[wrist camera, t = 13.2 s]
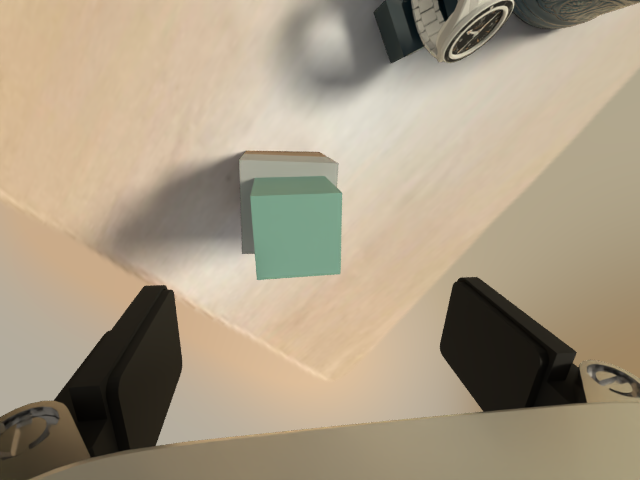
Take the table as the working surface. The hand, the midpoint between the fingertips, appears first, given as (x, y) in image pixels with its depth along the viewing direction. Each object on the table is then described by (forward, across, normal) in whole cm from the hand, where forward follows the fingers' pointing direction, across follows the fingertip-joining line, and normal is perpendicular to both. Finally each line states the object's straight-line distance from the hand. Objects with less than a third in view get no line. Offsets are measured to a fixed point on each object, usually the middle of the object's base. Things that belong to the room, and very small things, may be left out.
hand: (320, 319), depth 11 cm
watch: (+23, -11, -15) cm, 30 cm away
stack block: (+14, 0, 0) cm, 14 cm away
